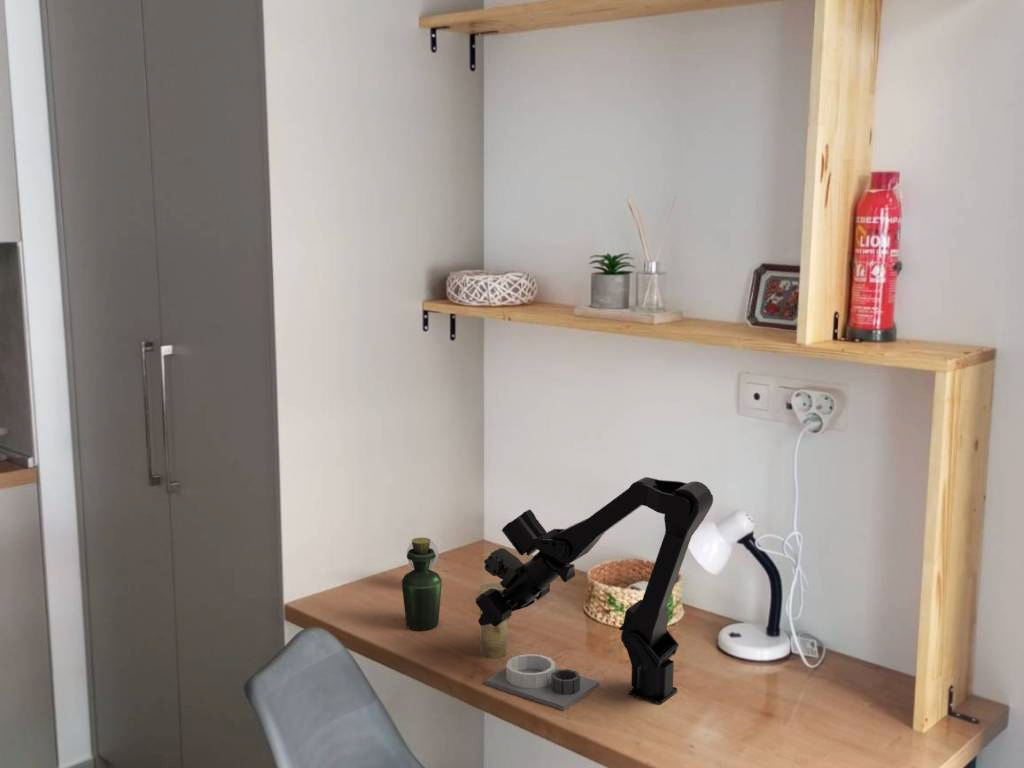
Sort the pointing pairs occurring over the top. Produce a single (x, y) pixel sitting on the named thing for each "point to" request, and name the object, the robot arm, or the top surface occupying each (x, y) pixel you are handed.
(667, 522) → the robot arm
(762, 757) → the top surface
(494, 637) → the gold cylinder peg
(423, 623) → the potion bottle
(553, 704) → the fitting board
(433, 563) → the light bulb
